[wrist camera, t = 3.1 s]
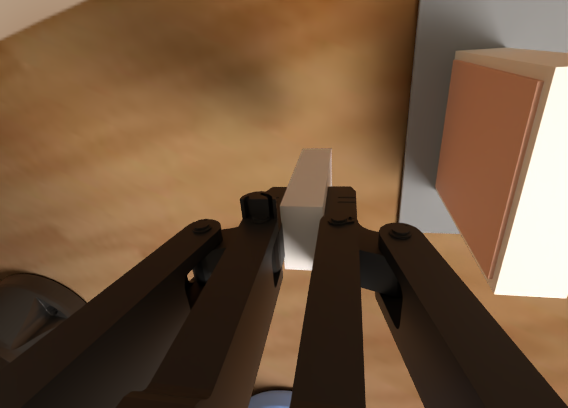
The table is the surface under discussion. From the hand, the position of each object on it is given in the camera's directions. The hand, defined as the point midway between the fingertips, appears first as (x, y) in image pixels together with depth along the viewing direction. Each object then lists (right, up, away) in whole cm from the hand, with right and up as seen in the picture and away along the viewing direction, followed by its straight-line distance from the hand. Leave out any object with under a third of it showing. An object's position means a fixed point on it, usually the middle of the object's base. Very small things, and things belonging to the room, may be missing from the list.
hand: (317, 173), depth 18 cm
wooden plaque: (+11, +4, +6) cm, 13 cm away
